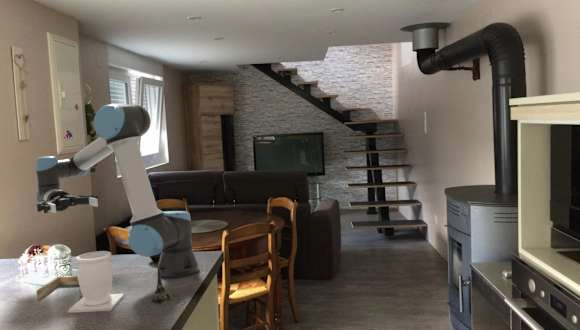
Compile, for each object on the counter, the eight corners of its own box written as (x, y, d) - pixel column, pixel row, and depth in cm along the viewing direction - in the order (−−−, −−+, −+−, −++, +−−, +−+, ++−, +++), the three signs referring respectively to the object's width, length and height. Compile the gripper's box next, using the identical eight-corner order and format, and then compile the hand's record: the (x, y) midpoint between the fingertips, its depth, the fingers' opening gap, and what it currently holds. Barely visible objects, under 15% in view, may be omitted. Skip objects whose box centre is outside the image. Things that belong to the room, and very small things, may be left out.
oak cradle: (99, 282, 184) (98, 274, 183) (82, 297, 169) (82, 288, 168) (58, 284, 184) (57, 276, 183) (37, 299, 169) (36, 290, 168)
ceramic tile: (124, 295, 168) (124, 293, 168) (110, 310, 155) (110, 308, 155) (85, 297, 168) (85, 295, 168) (68, 312, 155) (67, 310, 155)
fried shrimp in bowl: (140, 254, 202) (150, 230, 219) (154, 275, 207) (163, 250, 223) (160, 245, 201) (168, 222, 218) (174, 266, 205) (182, 242, 222)
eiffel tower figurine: (186, 305, 158) (183, 263, 157) (153, 313, 153) (150, 269, 152) (170, 292, 171) (167, 253, 170) (140, 299, 166) (137, 259, 165)
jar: (103, 308, 156) (99, 259, 154) (72, 307, 158) (68, 259, 156) (121, 295, 166) (117, 250, 165) (92, 295, 168) (88, 250, 167)
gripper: (92, 205, 195) (113, 211, 179) (20, 215, 179) (36, 223, 163) (91, 185, 194) (112, 189, 178) (18, 194, 178) (34, 199, 162)
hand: (76, 205), depth 170 cm, fingers open, 13 cm apart
